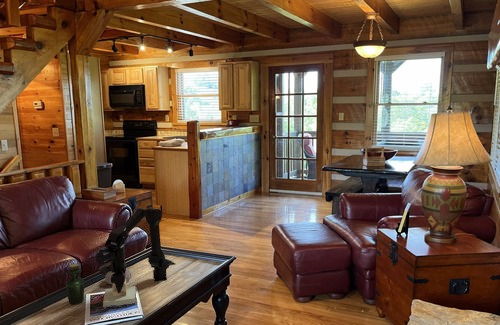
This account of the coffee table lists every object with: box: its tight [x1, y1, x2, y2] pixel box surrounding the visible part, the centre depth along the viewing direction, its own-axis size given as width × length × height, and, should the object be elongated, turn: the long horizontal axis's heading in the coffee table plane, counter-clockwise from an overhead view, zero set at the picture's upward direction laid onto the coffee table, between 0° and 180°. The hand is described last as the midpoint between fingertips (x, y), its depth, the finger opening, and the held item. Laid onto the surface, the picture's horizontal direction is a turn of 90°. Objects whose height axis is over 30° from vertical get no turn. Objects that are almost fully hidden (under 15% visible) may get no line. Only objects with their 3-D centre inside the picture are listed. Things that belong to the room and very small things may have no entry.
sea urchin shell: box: [104, 267, 132, 285], centre depth 208 cm, size 13×14×8 cm
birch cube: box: [111, 279, 128, 297], centre depth 187 cm, size 6×6×6 cm
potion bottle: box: [65, 263, 85, 305], centre depth 185 cm, size 8×8×18 cm
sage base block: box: [102, 285, 136, 307], centre depth 187 cm, size 14×14×3 cm
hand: (119, 288), depth 187 cm, fingers open, 9 cm apart
